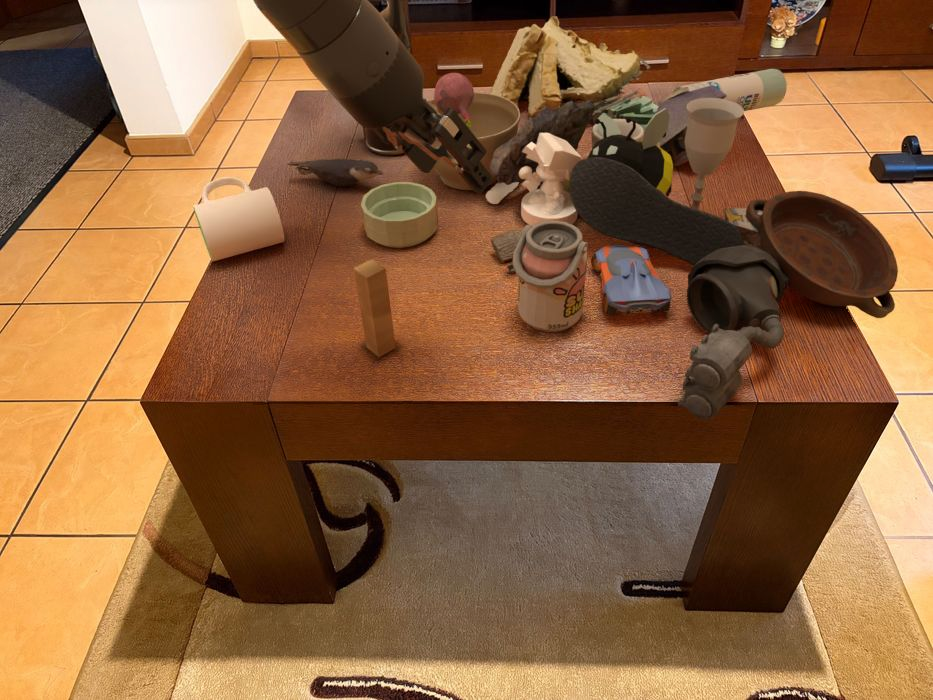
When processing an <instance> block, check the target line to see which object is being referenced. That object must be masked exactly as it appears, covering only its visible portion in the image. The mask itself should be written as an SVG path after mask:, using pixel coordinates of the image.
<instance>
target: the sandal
mask: <svg viewBox="0 0 933 700" xmlns="http://www.w3.org/2000/svg"><path fill="white" fill-rule="evenodd" d="M569 189H570V196H571V200H572V203H573V205H574V207H575V209H576V211H577V212H578V216H580V218H581V219H582V220H583V222H584V223H585V224H586V225H588V226H589V227H590V228H592V229H593V230H595V231H596V232H598V233H600V234H602V235H604V236H606V237H608V238H611V239H614V240H619V241H623V242H627V243H629V244H631V245H634V246H638V247H641V248H645V249H646V248H648V249H652V250H657V251H660V252H663V253H664V254H667V255H669V256H672V257H674V258H677V259H679V260H681V261H683V262H686V263H687V264H689V265H692V266H694V265H695V264H696V263H697V262H698V261H700V260H701V259H702V258H704V257H705V256H707V255H709V254H710V253H712V252H714V251H716V250H718V249H721V248H727V247H733V246H741V245H742V236H741V233H740V231H739V230H738V229H737V228H736V227H735V226H734V225H733V224H731V223H730V222H728V221H726V220H725V218H721V217H719V216H716V215H715V214H712V213H708V212H705V211H704V210H702V211H699V210H696V209H693V208H691V207H690V206H687V205H684V204H682V203H680V202H678V201H675V200H673V199H671V198H670V197H669V196H668V197H667V196H666V195H665V194H664V193H663V192H661V191H660V190H658V189H657V188H654V187H653V186H652V185H651V184H650V183H649V182H648V181H647V180H646V179H645V178H643V177H642V176H641V175H640V174H639V173H638V172H636V171H635V170H634V169H632V168H630V167H629V166H627V165H625V164H623V163H620V162H617V161H614V160H610V159H606V158H600V157H592V158H588V157H586V158H583V159H581V161H579V162H578V163H576V165H575V166H574V167H573V169H572V171H571V174H570V181H569Z"/></svg>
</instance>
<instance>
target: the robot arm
mask: <svg viewBox="0 0 933 700" xmlns="http://www.w3.org/2000/svg"><path fill="white" fill-rule="evenodd" d="M252 1H253V3H254V5H255V6H256V8H257V9H258V10H259V12H260V13H261V14H262V16H264V18H265V19H266V20H267V21H268V22H269V23H270V24H271V25H272V26H273V28H275V29H276V30H277V32H278V33H279V34H280V35H281V36H282V37H283V38H284V39H285V40H286V42H287V43H288V44H290V47H292V48H293V49H294V50H295V51H296V53H297V54H298V55H299V57H300V58H301V59H302V61H303V62H304V64H305V65H306V66H307V68H308V69H309V71H310V72H311V73H312V74H313V76H314V77H315V78H316V79H317V80H318V81H319V82H320V83H321V85H323V87H324V88H325V89H326V90H327V91H328V92H329V93H330V94H331V95H332V96H333V98H334V99H335V100H336V101H337V102H338V103H339V104H340V105H341V106H342V107H343V108H344V109H345V111H346V112H347V113H348V114H349V115H350V116H351V118H352V119H353V120H355V122H357V124H358V125H359V126H361V127H362V134H363V141H365V142H366V148H367V149H368V150H369V151H370V152H372V153H374V154H377V155H381V156H398V155H403V154H404V155H405V156H406V157H407V158H408V159H409V160H410V161H411V163H413V165H414V166H415V167H416V168H417V169H418V171H419V172H421V173H422V174H426V175H428V174H430V172H431V171H432V170H433V169H434V168H433V167H434V165H435V164H436V163H437V161H438V160H441V159H442V160H444V161H445V162H447V163H448V164H449V165H450V166H452V167H453V168H454V169H455V170H456V171H457V172H458V173H459V174H460V176H461V177H462V178H463V179H464V180H465V182H466V183H467V184H468V185H469V186H470V188H471V189H472V190H471V191H473V192H475V193H477V194H482V193H484V191H485V190H486V188H488V186H487V185H488V184H489V183H490V181H491V175H490V173H489V172H488V171H487V169H486V168H485V167H484V166H483V164H482V163H481V162H480V161H481V159H482V158H483V156H484V155H485V154H486V152H487V151H486V149H485V148H484V147H483V145H482V144H481V143H480V142H479V140H478V139H477V138H476V137H475V135H474V134H473V133H472V132H471V131H470V129H469V128H468V127H467V126H466V124H465V123H464V122H463V121H462V119H461V118H460V117H459V116H458V114H457V113H456V112H455V111H454V110H453V109H450V108H447V109H446V111H445V112H444V113H443V115H441V114H440V113H439V112H438V110H437V108H436V106H434V105H433V104H432V103H431V102H429V100H428V99H426V98H424V95H423V94H424V84H425V74H424V71H423V68H422V67H421V65H420V64H419V62H418V61H417V60H416V58H415V57H414V56H413V43H412V35H411V33H412V32H411V23H410V20H411V19H410V8H409V0H252ZM371 2H386V3H387V6H386V7H385V8H384V9H383V10H382V11H379V10H378V9H377V8H376V7H375V6H374V4H372V3H371ZM436 140H437V141H438V142H441V143H442V144H441V146H440V147H439V148H433V147H432V146H431V145H432V144H433V143H434V142H435V141H436ZM447 150H448V151H447ZM448 152H449V153H450V154H451V155H452V156H453V157H452V156H451V155H450V154H449V153H448Z"/></svg>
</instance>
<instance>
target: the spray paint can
mask: <svg viewBox="0 0 933 700" xmlns="http://www.w3.org/2000/svg"><path fill="white" fill-rule="evenodd" d="M707 86H713V87H715V88H717V89H719V90H720V91H722V92H723V93H725V94H726V95H727V97H725V98H724V99H725V100H729V101H732V102H735V103H737V104H738V105H740V106H741V107H742V108H743V109H744V112H747V111H748V112H749V111H753V110H758V109H764V108H769V107H774V106H776V105H779V104H780V103H781V102H782V101H783V100H784V98H785V97H786V93H787V88H788V87H787V80H786V77H785V74H784V73H783V72H782V70H780V69H776V68H768V69H762V70H758V71H752V72H746V73H742V74H736V75H732V76H731V75H730V76H726V77H721V78H716V79H715V78H714V79H710V80H705V81H700V82H695V83H690V84H683V85H680V86H677V87H675V88H674V89H673V91H672V93H674V92H676V91H678V90H680V89H682V88H684V87H688V88H689V91H693V90H697V89H700V88H704V87H707Z"/></svg>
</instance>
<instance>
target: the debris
mask: <svg viewBox="0 0 933 700" xmlns="http://www.w3.org/2000/svg"><path fill="white" fill-rule="evenodd" d="M516 32H517V33H516V34H515V36H514V38H513V40H512V43H511V46H510V48H509V50H507V51H508V52H507V55H506V57H505V58H504V61H503V62H502V64H501V67H500V69H499V70H498V73H497V76H496V79H495V80H494V84H493V85H492V86H491V90H490V94H494V95H498V96H501V97H504V98H506V99H508V100H510V101H511V102H513V103H514V104H515V105H516V106H517V107H518V108H519V104H521V103H523V102H527V103H528V105H527V113H528V119H532V118H535V117H537V115H538V114H539V112H540V111H541V110H542V109H543V108H544V107H545V106H548V107H549V108H550V109H552V110H554V109H558V108H559V107H561V105H563V104H565V103H567V102H570V101H571V102H573V103H576V102H578V101H579V102H580V101H581V102H586V101H588V100H590V101H592V103H593V105H594V106H595V105H597V104H600V103H601V102H610V101H613V100H615V99H617V98H618V97H619V95H624V96H625V97H624V96H622V97H623V98H622V97H621V98H622V99H620V100H618V101H616V102H613V103H612V104H609V105H608V106H605V107H602V108H600V109H598V110H596V111H594V113H593V115H594V114H595V113H598V112H599V113H601V111H603V110H609V109H611V108H614V107H616V106H618V105H620V104H622V103H624V102H626V101H627V100H629V99H631V100H632V99H633V98H634V96H635V95H637V93H638V90H639V89H640V87H637V89H635V90H633V91H632V92H631V93H629V94H627V96H626V95H625V94H626V93H625V92H624V91H622V90H623V87H625V86H626V85H629V84H630V83H631V82H634V81H635V80H636V81H640V78H639V76H641V74H643V71H642V70H641V64H642V65H643V66H644V67H646V70H647V71H650V70H651V66H650V65H649V64H648V62H646V61H645V60H644V59H642V58H640V57H639V55H638V54H636V51H635V50H633V49H632V50H631V52H628V53H626V54H624V53H621V51H620V49H616V50H615V51H611V50H607V49H608V48H609V47H608V46H607V44H606V43H604V42H601V43H600V44H599V48H597V46H596V45H595V44H594V43H593V42H589V41H588V40H586V39H584V38H581V37H579V36H578V34H577V33H576V32H574V31H573V30H571V29H568V30H567V29H566V30H565V29H563V28H562V27H560V20H559V18H558V16H555V15H554V16H553V15H552V16H551V17H550V18H549V19H548V21H547V22H545V23H544V26H543V27H540V26H538V25H537V24H536V23H532V25H531V27H530V26H525V27H523V28H519V29H518V30H517V31H516ZM593 115H592V116H593ZM524 118H525V116H520V119H524Z"/></svg>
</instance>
